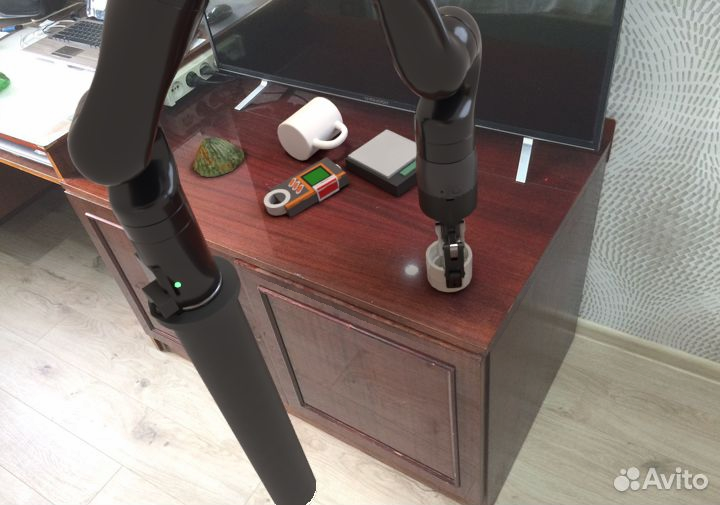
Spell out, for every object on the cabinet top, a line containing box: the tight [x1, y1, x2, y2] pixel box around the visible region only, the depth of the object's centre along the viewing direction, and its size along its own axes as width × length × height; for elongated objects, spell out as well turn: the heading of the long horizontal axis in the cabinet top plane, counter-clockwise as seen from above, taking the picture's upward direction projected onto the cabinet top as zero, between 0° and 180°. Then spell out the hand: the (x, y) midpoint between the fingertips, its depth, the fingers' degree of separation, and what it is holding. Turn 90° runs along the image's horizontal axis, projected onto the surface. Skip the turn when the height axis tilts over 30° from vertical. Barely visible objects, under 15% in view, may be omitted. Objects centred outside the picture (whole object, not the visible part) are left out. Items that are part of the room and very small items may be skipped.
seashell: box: [192, 136, 245, 178], centre depth 114 cm, size 10×4×10 cm
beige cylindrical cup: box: [425, 239, 473, 293], centre depth 85 cm, size 6×6×5 cm
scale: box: [344, 129, 417, 198], centre depth 106 cm, size 11×13×3 cm
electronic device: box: [263, 156, 350, 218], centre depth 104 cm, size 7×3×15 cm
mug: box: [277, 96, 349, 161], centre depth 111 cm, size 12×10×8 cm
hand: (451, 263), depth 85 cm, fingers open, 8 cm apart
